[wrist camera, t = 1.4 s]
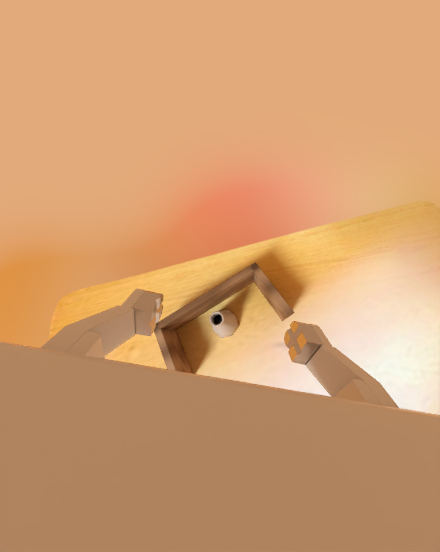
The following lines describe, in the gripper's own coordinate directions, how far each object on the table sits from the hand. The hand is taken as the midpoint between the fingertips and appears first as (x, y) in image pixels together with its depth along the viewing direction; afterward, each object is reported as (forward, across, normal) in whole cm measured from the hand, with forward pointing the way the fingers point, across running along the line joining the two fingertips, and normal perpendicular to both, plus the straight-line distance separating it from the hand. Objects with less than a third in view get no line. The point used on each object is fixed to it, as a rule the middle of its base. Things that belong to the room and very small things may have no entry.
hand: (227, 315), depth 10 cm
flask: (+25, -6, +25) cm, 36 cm away
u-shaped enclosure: (+25, -6, +25) cm, 35 cm away
